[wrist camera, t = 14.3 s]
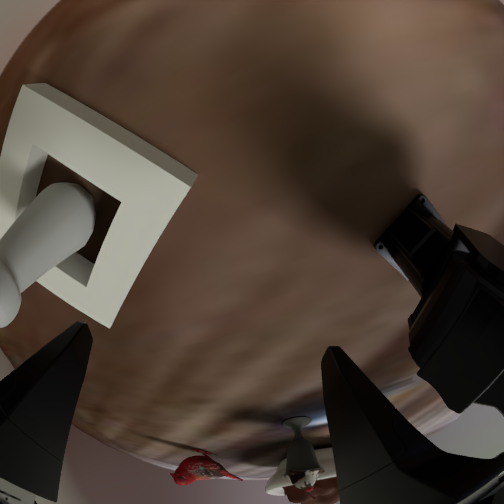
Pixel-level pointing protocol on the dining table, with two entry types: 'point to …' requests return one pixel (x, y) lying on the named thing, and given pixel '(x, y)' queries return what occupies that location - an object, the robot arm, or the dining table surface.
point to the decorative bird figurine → (199, 469)
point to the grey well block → (100, 174)
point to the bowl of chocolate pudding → (322, 489)
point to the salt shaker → (42, 240)
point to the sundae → (301, 457)
